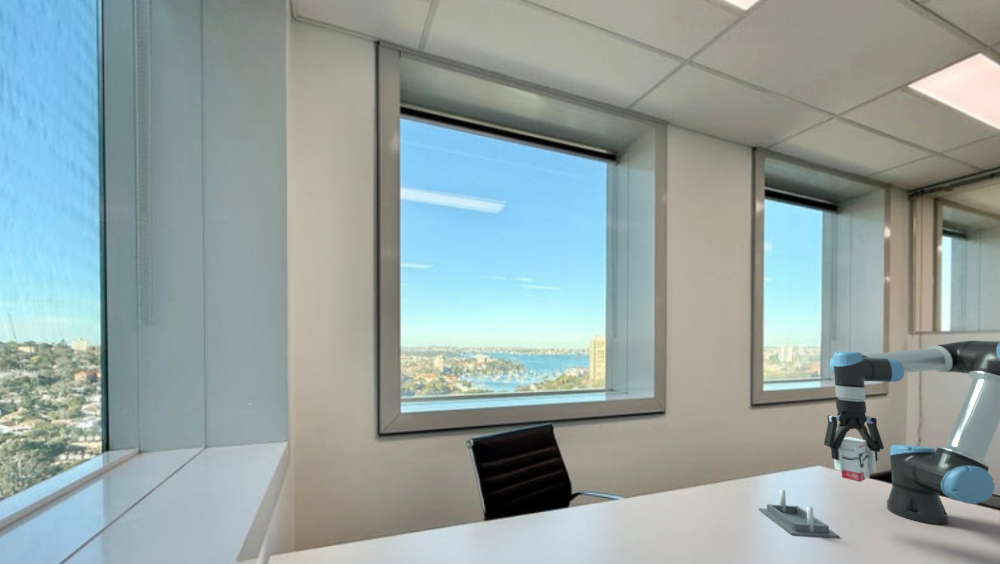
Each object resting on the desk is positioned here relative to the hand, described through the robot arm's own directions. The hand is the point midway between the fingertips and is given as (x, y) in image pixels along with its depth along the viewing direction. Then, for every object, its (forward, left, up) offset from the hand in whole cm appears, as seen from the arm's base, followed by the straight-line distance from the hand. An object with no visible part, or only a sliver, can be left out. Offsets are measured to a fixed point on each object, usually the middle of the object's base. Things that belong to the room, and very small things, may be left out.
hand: (855, 470), depth 137 cm
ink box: (0, 0, -2) cm, 2 cm away
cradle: (+18, -1, -17) cm, 25 cm away
